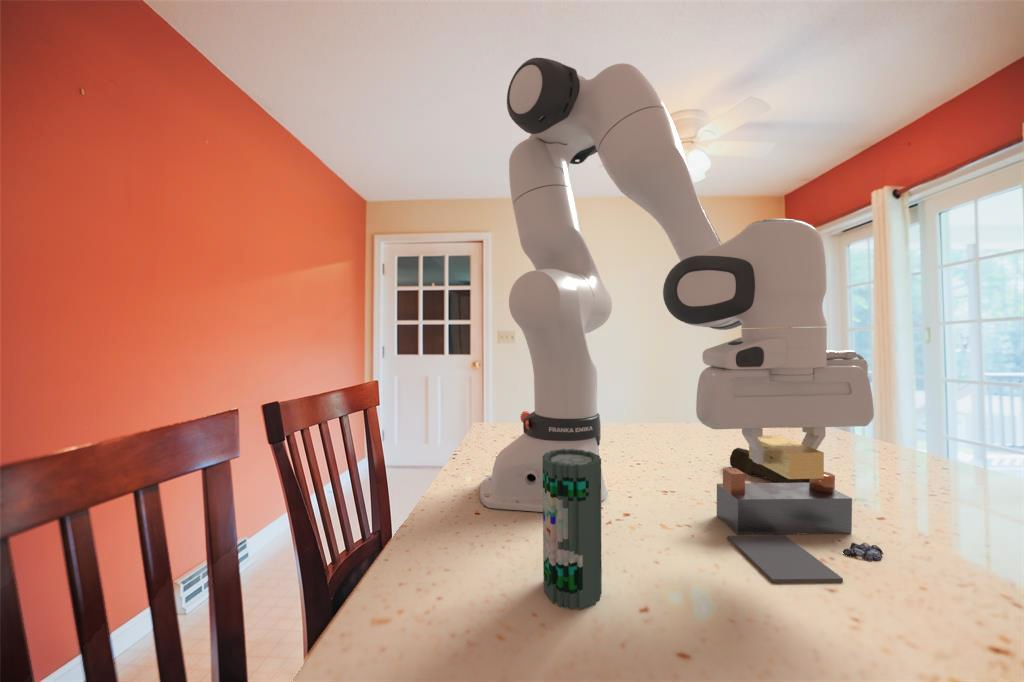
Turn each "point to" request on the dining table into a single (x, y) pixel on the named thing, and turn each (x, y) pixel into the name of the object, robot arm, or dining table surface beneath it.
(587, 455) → the can
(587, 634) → the dining table surface
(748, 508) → the plane body
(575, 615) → the dining table surface
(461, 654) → the dining table surface
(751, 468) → the hand tool
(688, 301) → the robot arm
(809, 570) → the mat
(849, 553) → the blueberries
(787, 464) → the gold metallic block
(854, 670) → the dining table surface
